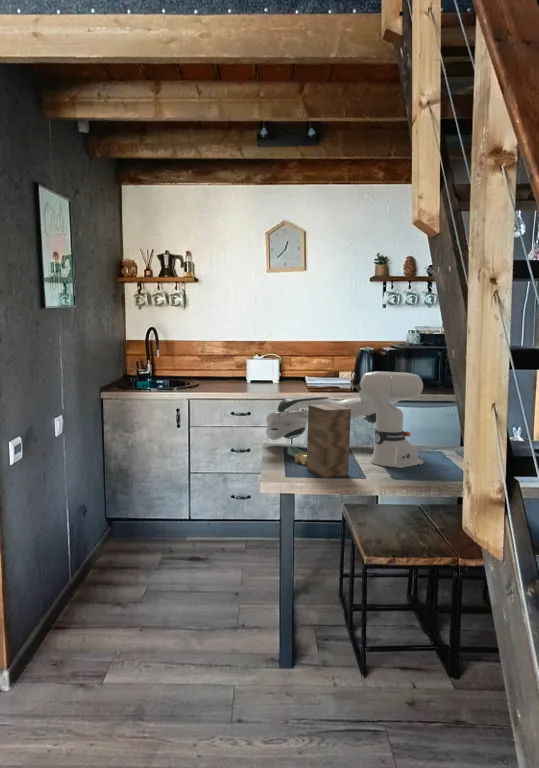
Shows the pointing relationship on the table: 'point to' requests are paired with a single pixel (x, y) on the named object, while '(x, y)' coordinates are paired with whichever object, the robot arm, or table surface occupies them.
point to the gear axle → (298, 455)
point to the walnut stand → (328, 440)
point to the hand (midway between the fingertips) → (296, 411)
